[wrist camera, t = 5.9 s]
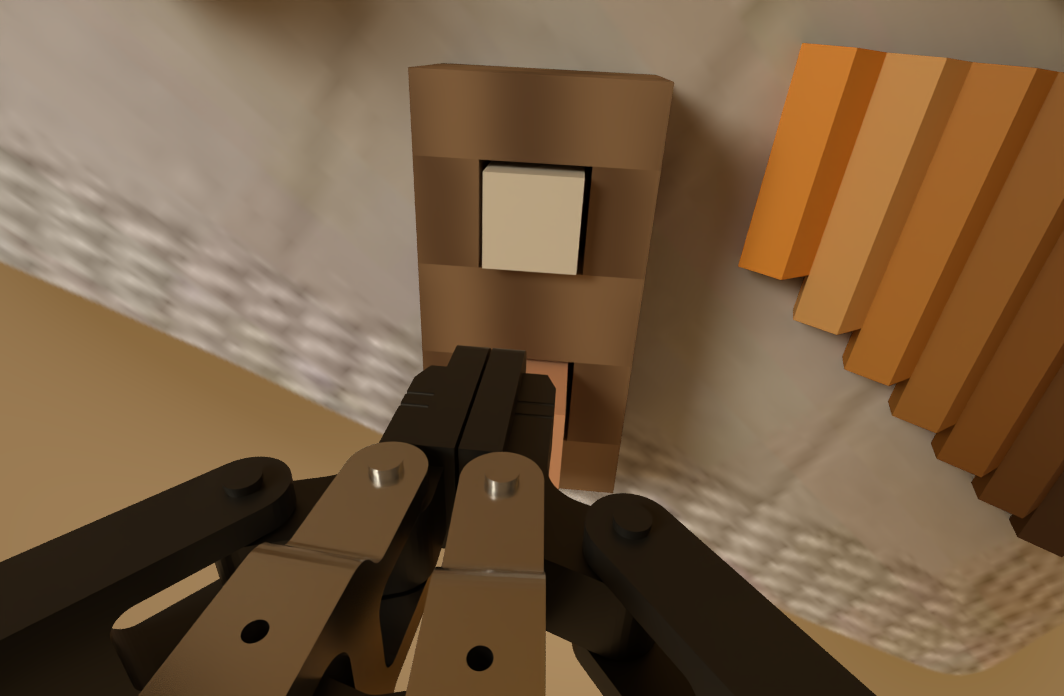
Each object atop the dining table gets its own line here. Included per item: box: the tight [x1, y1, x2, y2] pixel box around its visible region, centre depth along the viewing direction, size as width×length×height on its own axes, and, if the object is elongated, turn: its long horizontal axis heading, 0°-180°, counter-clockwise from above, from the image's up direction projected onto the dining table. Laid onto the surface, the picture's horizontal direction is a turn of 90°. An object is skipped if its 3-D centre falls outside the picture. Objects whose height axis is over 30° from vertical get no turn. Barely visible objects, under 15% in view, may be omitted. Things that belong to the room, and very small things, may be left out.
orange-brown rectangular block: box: [526, 359, 568, 489], centre depth 27 cm, size 4×4×6 cm
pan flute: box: [738, 43, 1064, 557], centre depth 30 cm, size 25×3×25 cm
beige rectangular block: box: [482, 160, 585, 275], centre depth 26 cm, size 4×4×6 cm
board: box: [408, 63, 674, 493], centre depth 29 cm, size 10×20×6 cm, turn 177°
